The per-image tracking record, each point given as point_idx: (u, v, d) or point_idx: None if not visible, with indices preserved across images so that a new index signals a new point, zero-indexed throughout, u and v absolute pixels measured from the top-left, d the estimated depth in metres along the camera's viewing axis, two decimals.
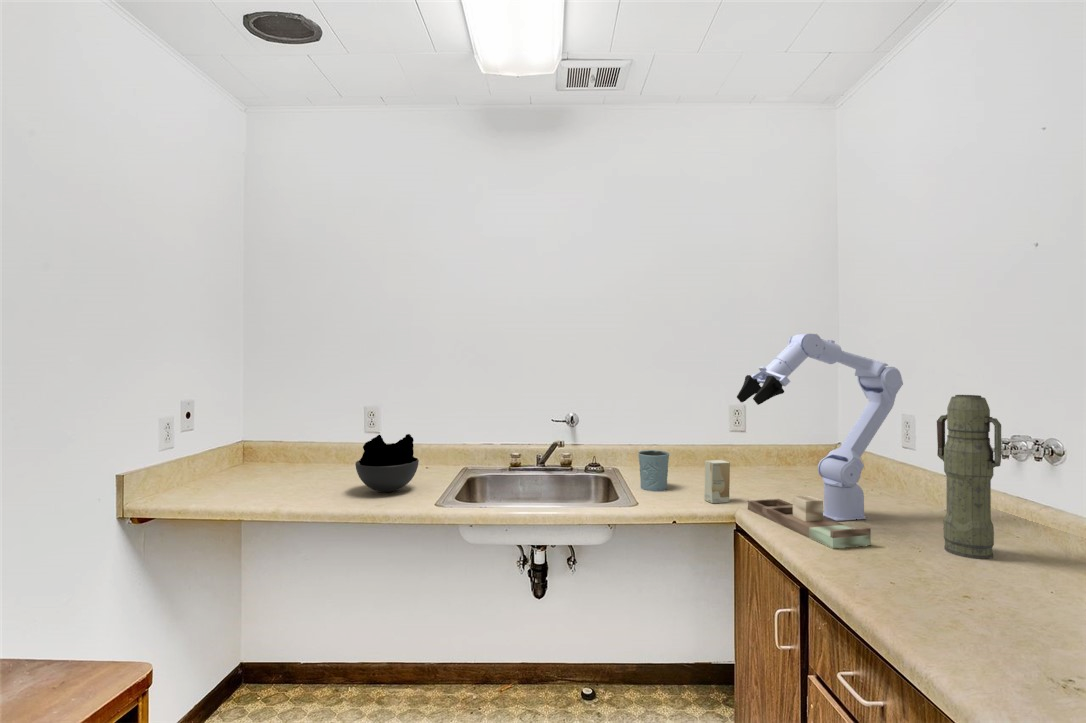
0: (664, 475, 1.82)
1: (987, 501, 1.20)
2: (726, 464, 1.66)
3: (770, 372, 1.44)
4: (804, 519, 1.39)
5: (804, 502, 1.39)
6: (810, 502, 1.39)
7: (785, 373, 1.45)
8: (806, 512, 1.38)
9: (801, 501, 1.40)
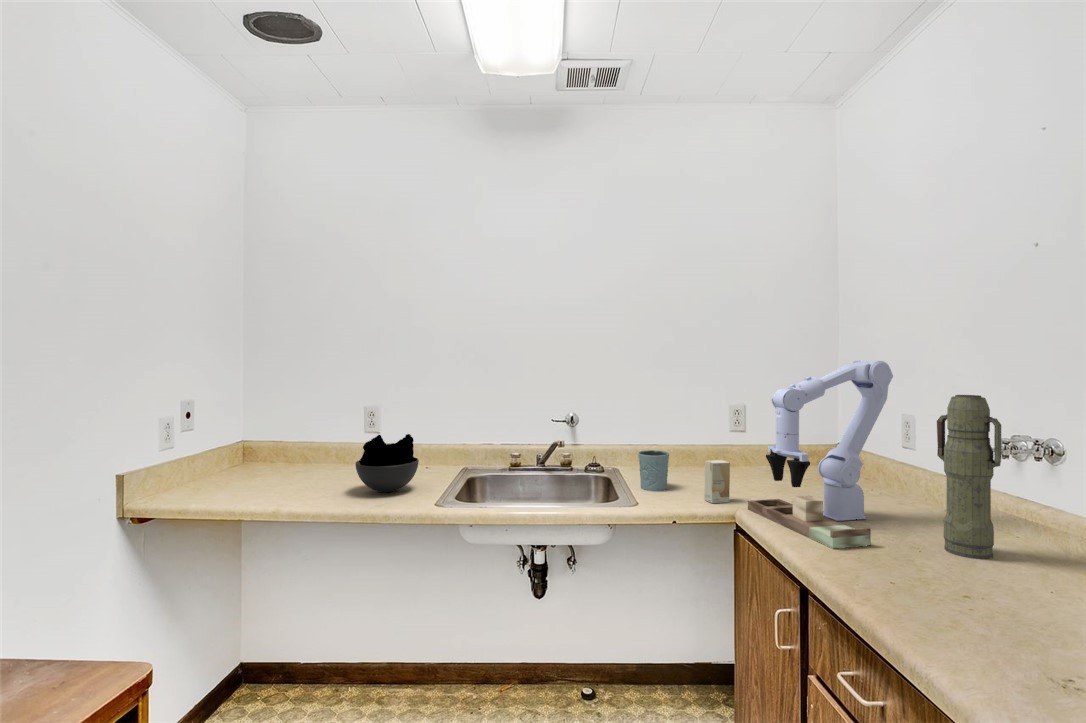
0: (664, 475, 1.82)
1: (987, 501, 1.20)
2: (726, 464, 1.66)
3: (785, 453, 1.46)
4: (804, 519, 1.39)
5: (804, 502, 1.39)
6: (810, 502, 1.39)
7: (796, 441, 1.46)
8: (806, 512, 1.38)
9: (801, 501, 1.40)
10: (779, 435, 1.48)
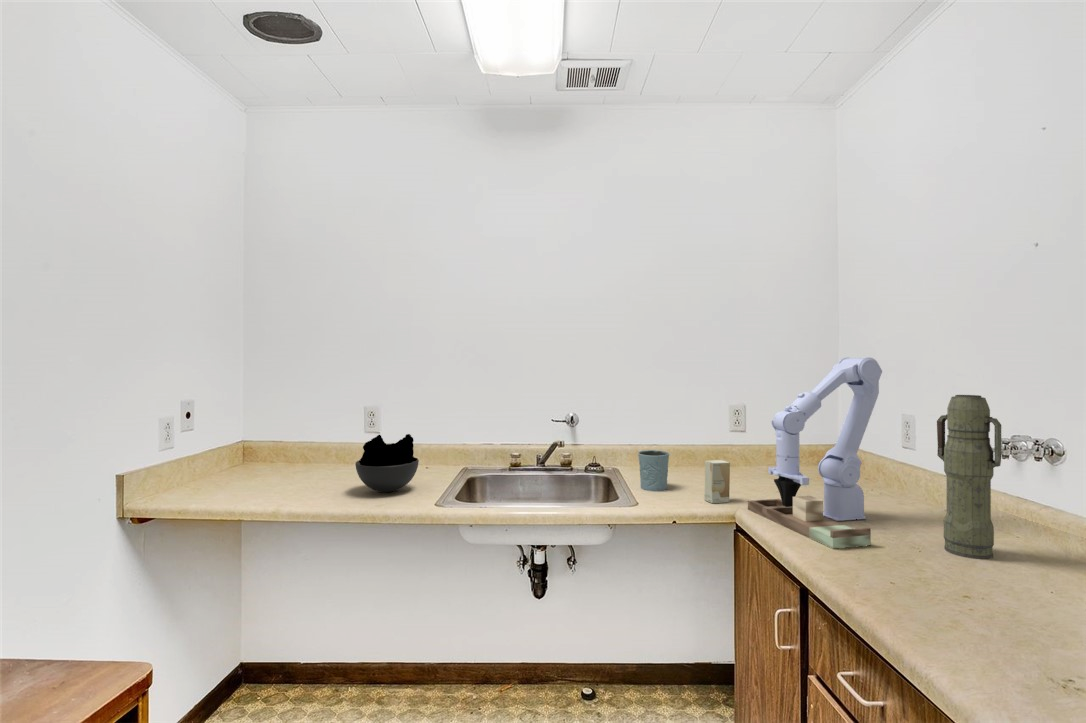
0: (664, 475, 1.82)
1: (987, 501, 1.20)
2: (726, 464, 1.66)
3: (786, 476, 1.46)
4: (804, 519, 1.39)
5: (804, 502, 1.39)
6: (810, 502, 1.39)
7: (796, 464, 1.46)
8: (806, 512, 1.38)
9: (801, 501, 1.40)
10: (779, 458, 1.48)
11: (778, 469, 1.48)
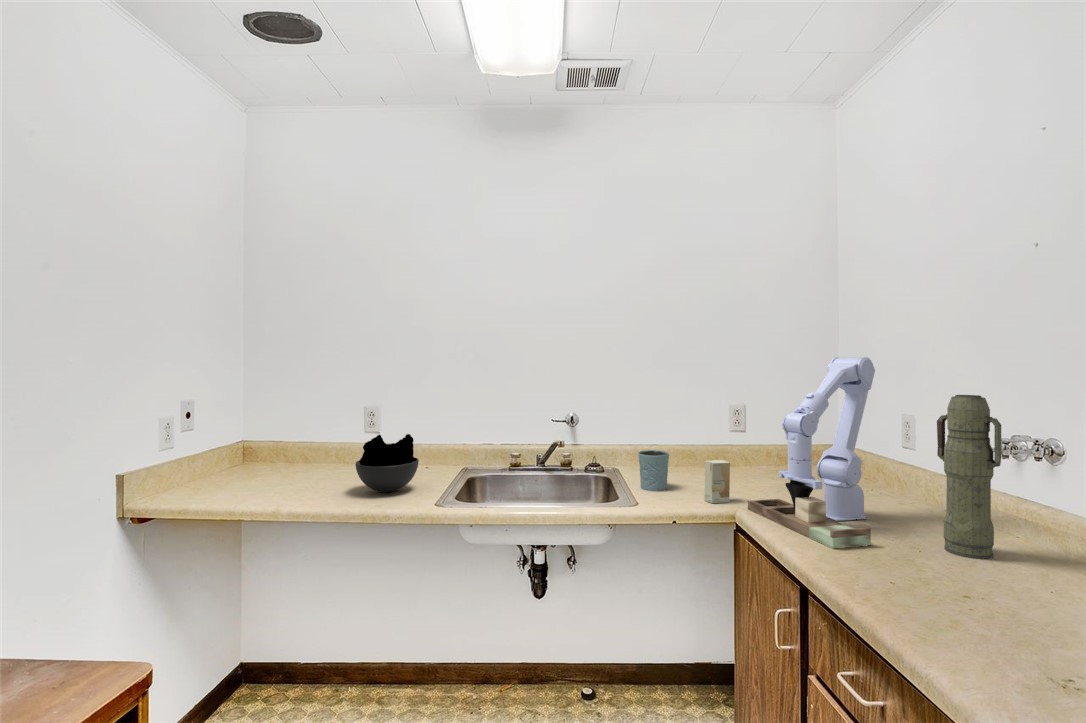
0: (664, 475, 1.82)
1: (987, 501, 1.20)
2: (726, 464, 1.66)
3: (798, 479, 1.41)
4: (807, 520, 1.38)
5: (807, 503, 1.38)
6: (813, 503, 1.37)
7: (809, 467, 1.42)
8: (809, 513, 1.37)
9: (804, 502, 1.39)
10: (791, 461, 1.43)
11: (790, 473, 1.44)
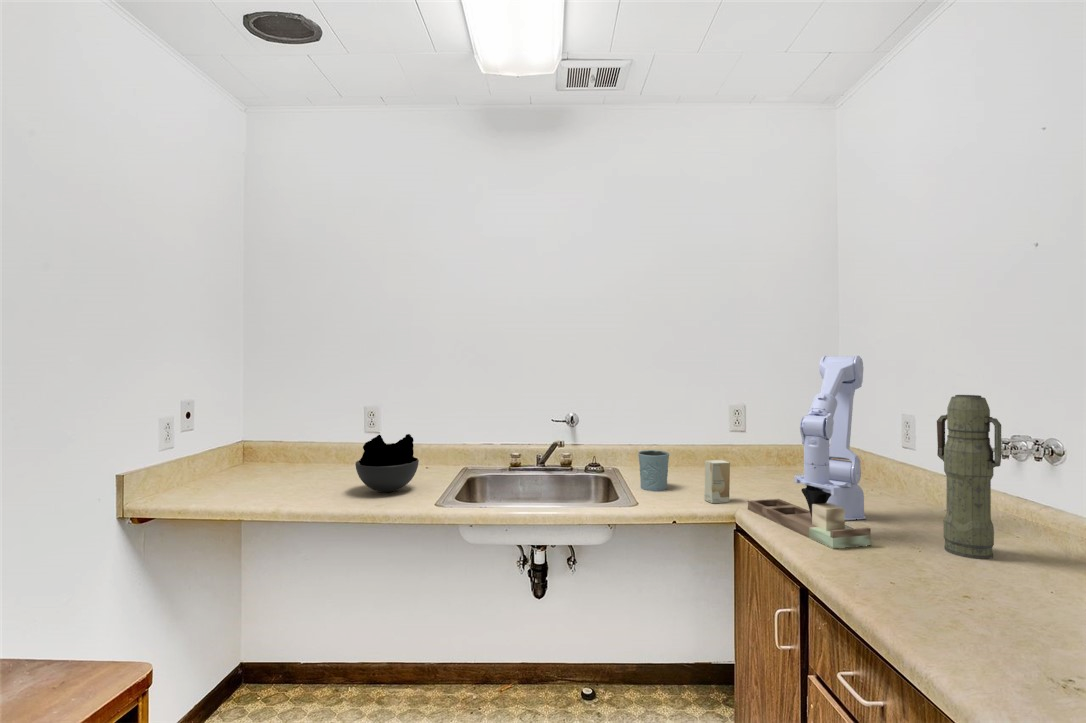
0: (664, 475, 1.82)
1: (987, 501, 1.20)
2: (726, 464, 1.66)
3: (815, 485, 1.35)
4: (824, 528, 1.31)
5: (825, 510, 1.31)
6: (831, 510, 1.31)
7: (826, 472, 1.35)
8: (827, 521, 1.31)
9: (821, 509, 1.32)
10: (808, 465, 1.37)
11: (806, 478, 1.37)
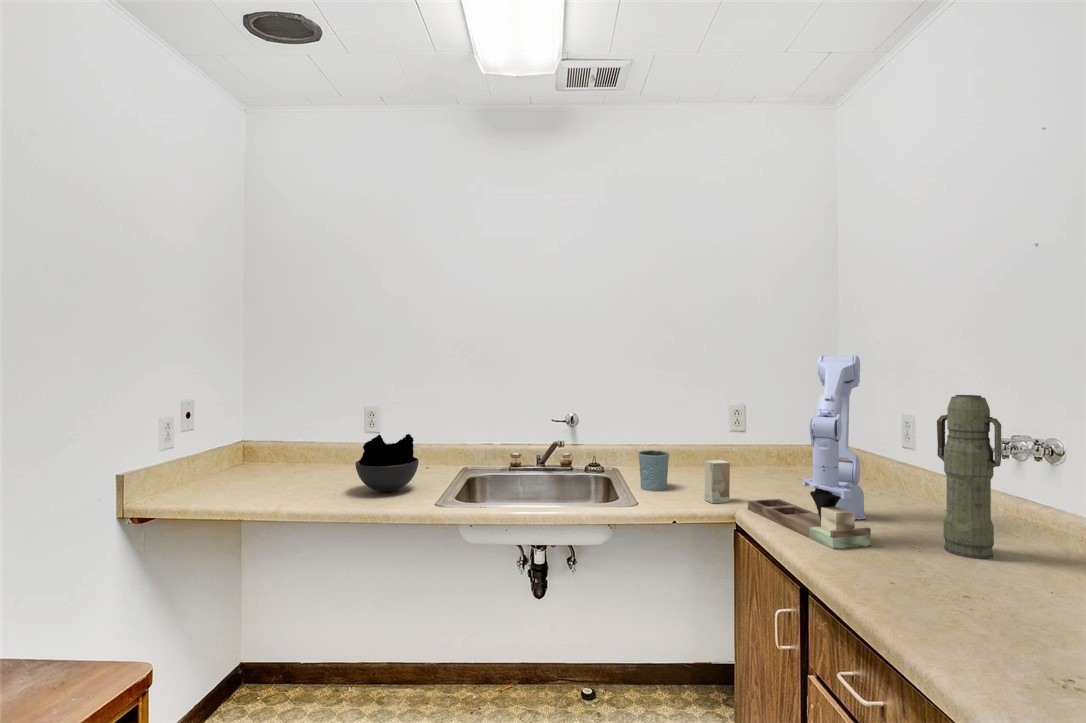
0: (664, 475, 1.82)
1: (987, 501, 1.20)
2: (726, 464, 1.66)
3: (824, 488, 1.32)
4: None
5: (834, 514, 1.28)
6: (841, 514, 1.28)
7: (836, 475, 1.32)
8: (836, 525, 1.28)
9: (831, 512, 1.29)
10: (817, 468, 1.34)
11: (815, 480, 1.34)
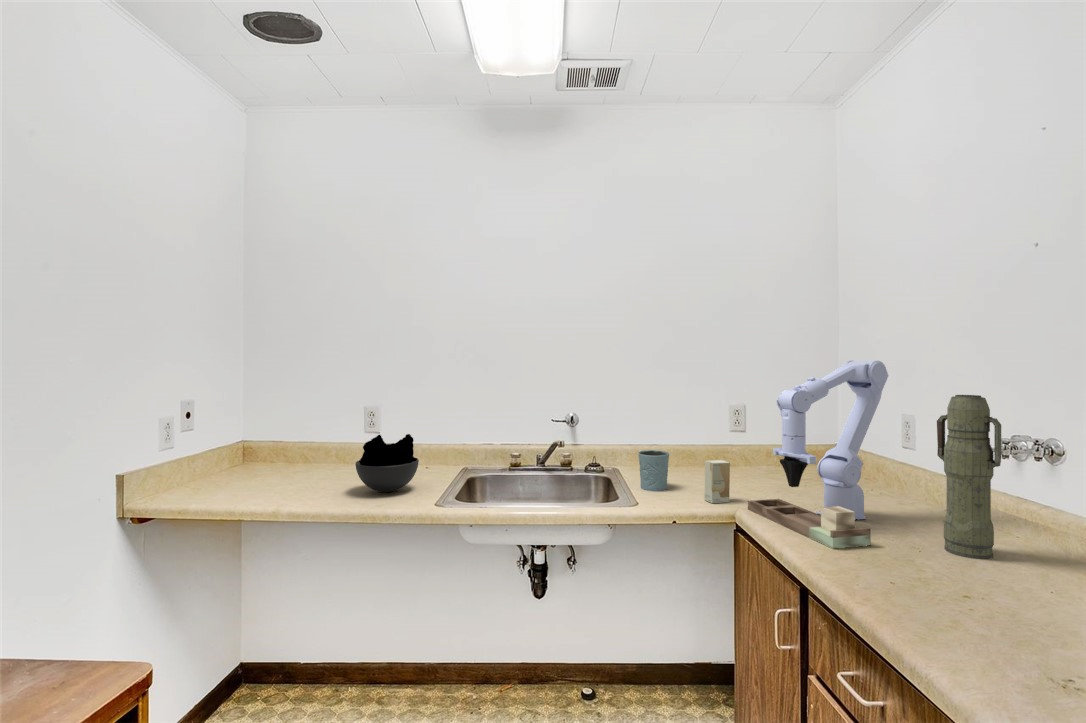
0: (664, 475, 1.82)
1: (987, 501, 1.20)
2: (726, 464, 1.66)
3: (792, 455, 1.43)
4: None
5: (834, 514, 1.28)
6: (841, 514, 1.28)
7: (803, 443, 1.44)
8: (836, 525, 1.28)
9: (831, 512, 1.29)
10: (785, 437, 1.45)
11: (784, 449, 1.46)
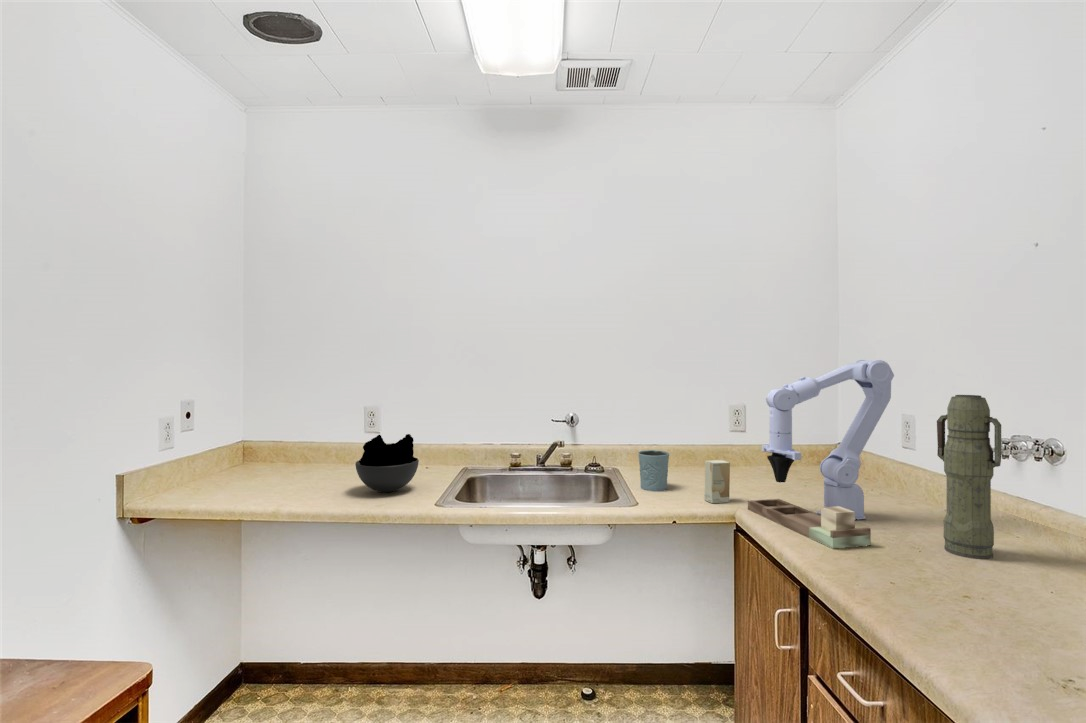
0: (664, 475, 1.82)
1: (987, 501, 1.20)
2: (726, 464, 1.66)
3: (779, 451, 1.49)
4: None
5: (834, 514, 1.28)
6: (841, 514, 1.28)
7: (789, 440, 1.49)
8: (836, 525, 1.28)
9: (831, 512, 1.29)
10: (772, 434, 1.51)
11: (771, 445, 1.51)
